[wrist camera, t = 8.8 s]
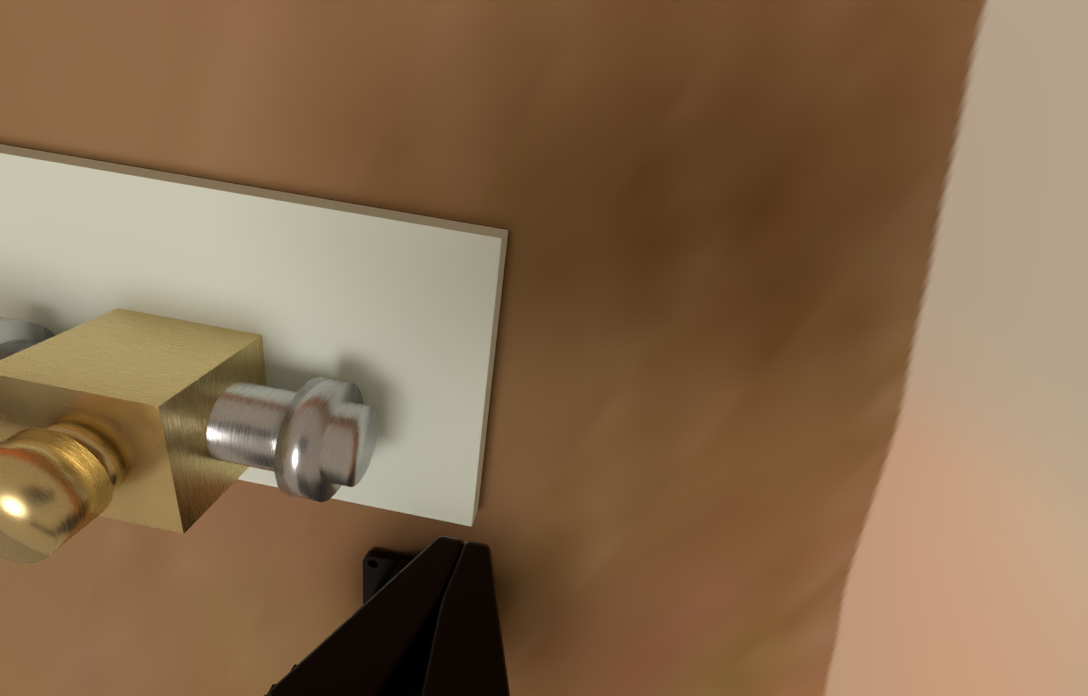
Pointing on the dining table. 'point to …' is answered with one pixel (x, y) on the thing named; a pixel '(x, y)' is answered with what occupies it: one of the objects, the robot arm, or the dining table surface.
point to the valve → (180, 412)
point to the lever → (47, 493)
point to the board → (280, 299)
